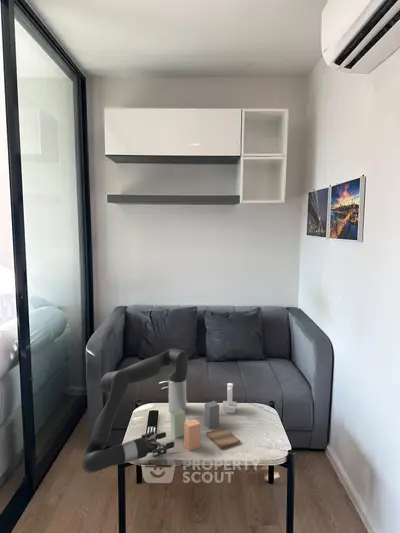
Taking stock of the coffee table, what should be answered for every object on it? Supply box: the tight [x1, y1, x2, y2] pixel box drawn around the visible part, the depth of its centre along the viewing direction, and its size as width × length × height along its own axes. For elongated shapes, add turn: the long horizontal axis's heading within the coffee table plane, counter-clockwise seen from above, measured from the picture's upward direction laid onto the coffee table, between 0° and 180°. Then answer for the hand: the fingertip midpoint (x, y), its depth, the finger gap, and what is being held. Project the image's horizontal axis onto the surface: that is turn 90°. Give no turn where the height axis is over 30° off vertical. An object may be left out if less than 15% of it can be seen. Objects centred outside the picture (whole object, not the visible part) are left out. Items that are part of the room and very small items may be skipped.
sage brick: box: [170, 409, 186, 439], centre depth 175 cm, size 4×6×11 cm
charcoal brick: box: [204, 400, 220, 430], centre depth 183 cm, size 4×6×11 cm
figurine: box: [222, 382, 238, 414], centre depth 198 cm, size 7×9×15 cm
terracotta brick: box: [183, 419, 201, 452], centre depth 165 cm, size 4×6×11 cm
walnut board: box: [205, 426, 241, 450], centre depth 171 cm, size 13×10×2 cm
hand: (169, 439), depth 160 cm, fingers open, 8 cm apart
